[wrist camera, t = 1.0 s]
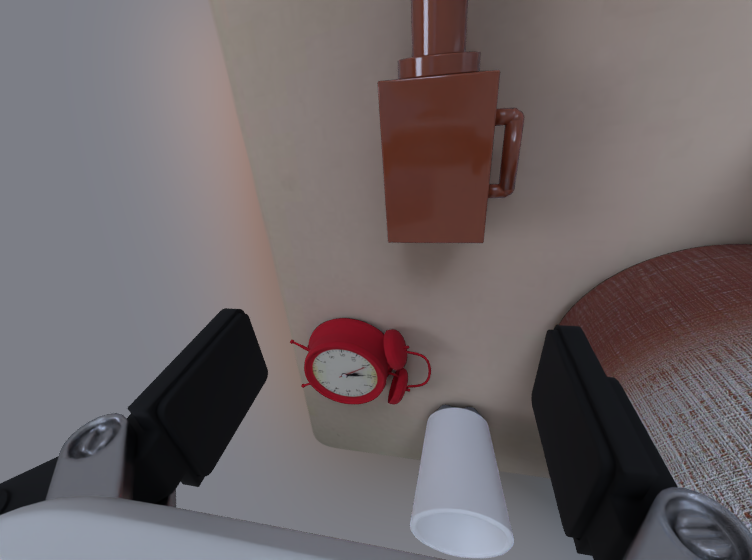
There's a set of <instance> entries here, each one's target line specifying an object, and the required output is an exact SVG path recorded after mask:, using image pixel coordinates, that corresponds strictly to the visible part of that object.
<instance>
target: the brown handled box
mask: <svg viewBox="0 0 752 560" xmlns="http://www.w3.org/2000/svg"><path fill="white" fill-rule="evenodd" d="M467 13H468V0H411V24H412V58H406V59H401V60H398V79H396V80H385V81H378V97H379V112H380V128H381V143H382V158H383V173H384V188H385V203H386V218H387V233H388V242H401V243H483V242H484V232H485V222H486V212H487V202H488V198H505V197H507V196H508V195H510V194H512V193H513V191H514V189H515V182H516V175H517V168H518V161H519V154H520V146H521V139H522V132H523V125H524V114H523V113H522V112H521V111H520V110H519V109H517V108H500V109H497V99H498V89H499V78H500V70H492V71H481V72H479V71H480V60H481V52H476V51H475V52H466V33H467ZM502 125H505V132H504V141H503V150H502V159H501V167H500V176H499V184H489V181H490V171H491V161H492V150H493V140H494V130H495V126H502Z"/></svg>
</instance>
